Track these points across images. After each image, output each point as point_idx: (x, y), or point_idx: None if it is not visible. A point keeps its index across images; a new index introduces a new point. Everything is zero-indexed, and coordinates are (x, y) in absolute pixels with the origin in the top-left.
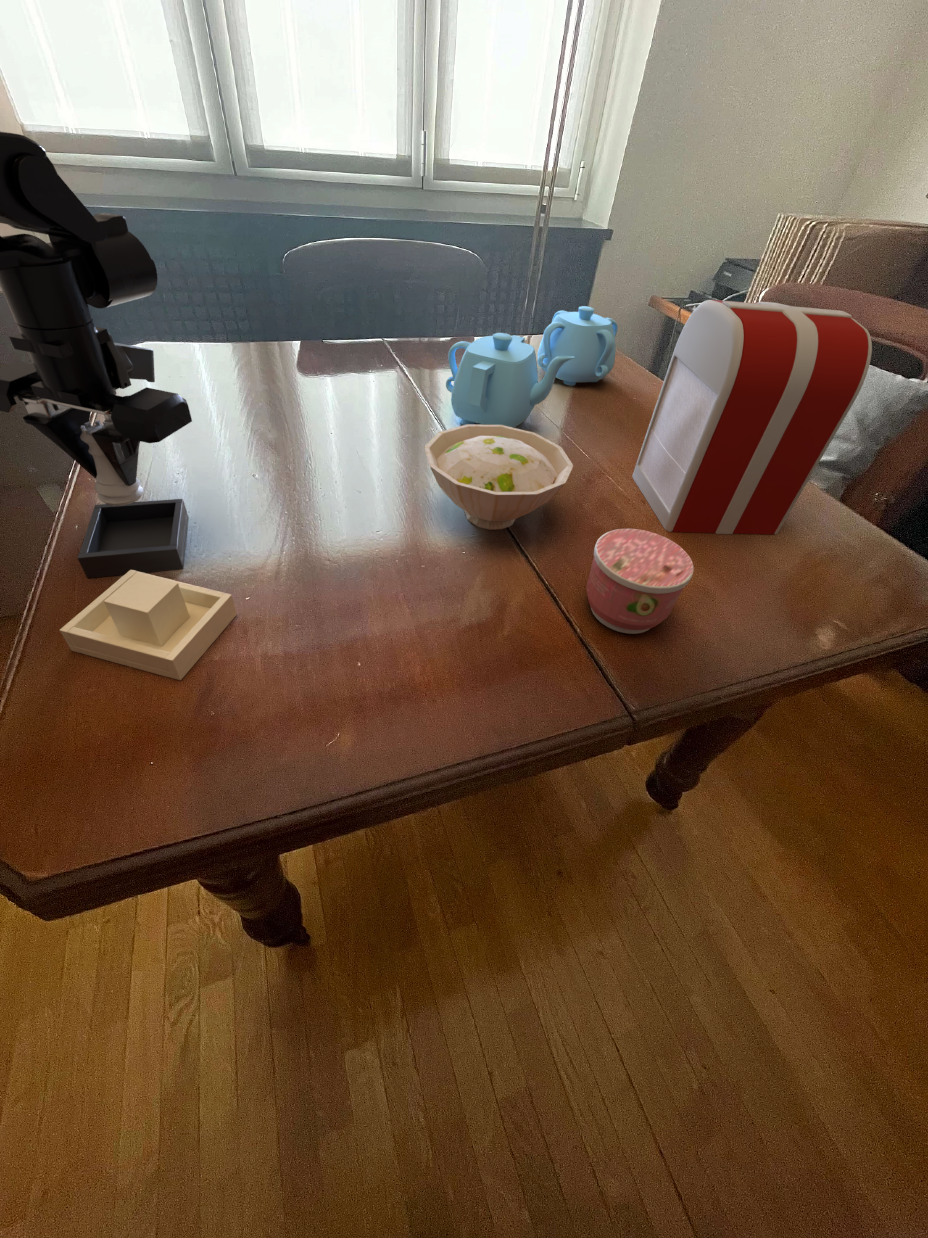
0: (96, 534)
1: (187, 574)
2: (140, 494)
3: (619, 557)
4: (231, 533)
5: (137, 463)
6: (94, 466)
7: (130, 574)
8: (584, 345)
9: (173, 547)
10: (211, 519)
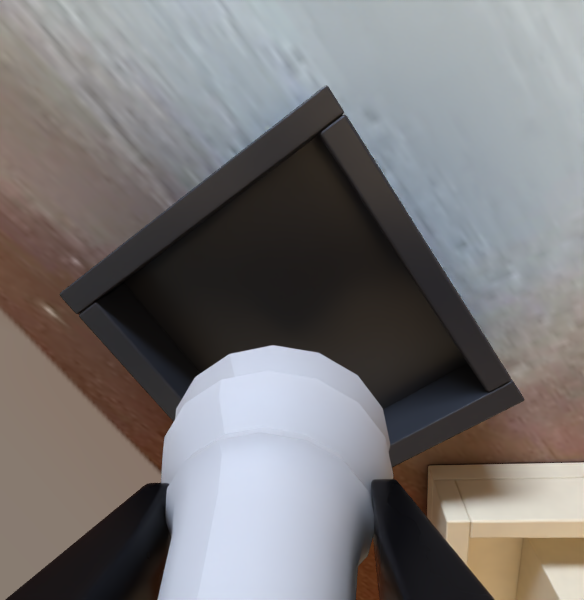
0: None
1: (516, 372)
2: (384, 426)
3: None
4: (547, 113)
5: (477, 579)
6: (152, 596)
7: (461, 537)
8: None
9: (508, 397)
10: (416, 59)
